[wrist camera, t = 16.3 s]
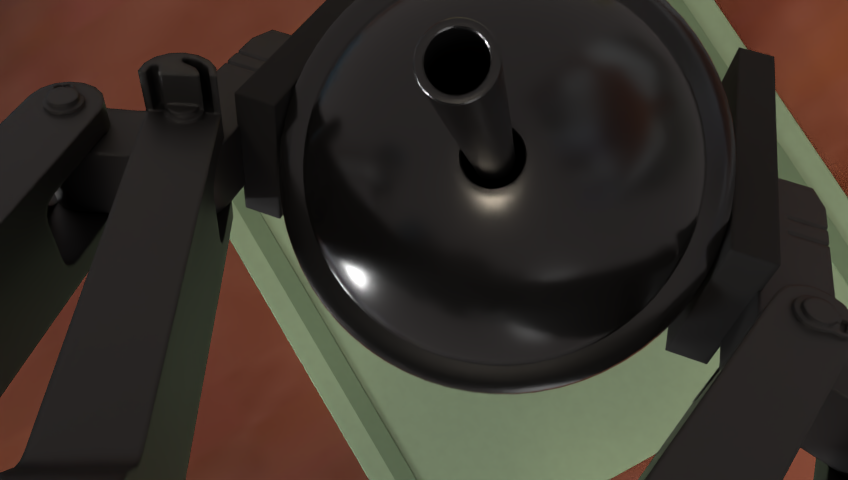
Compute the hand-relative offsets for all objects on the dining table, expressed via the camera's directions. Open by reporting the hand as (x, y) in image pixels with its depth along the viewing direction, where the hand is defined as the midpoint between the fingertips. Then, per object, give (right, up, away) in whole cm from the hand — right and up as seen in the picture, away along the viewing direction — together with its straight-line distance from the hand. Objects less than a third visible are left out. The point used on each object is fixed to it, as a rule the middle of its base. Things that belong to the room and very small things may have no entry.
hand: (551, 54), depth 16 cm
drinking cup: (0, -3, +9) cm, 9 cm away
